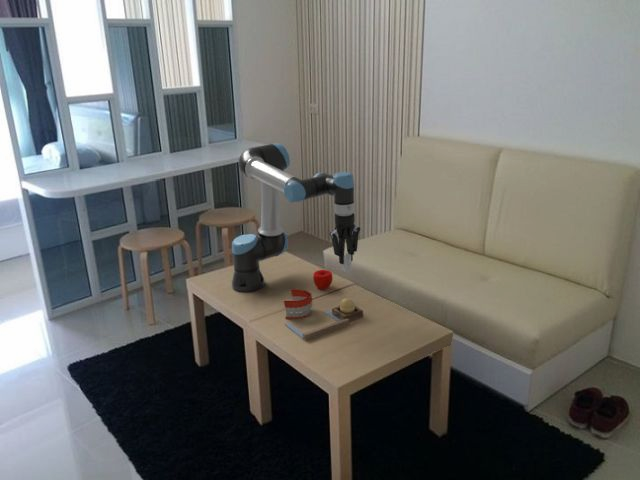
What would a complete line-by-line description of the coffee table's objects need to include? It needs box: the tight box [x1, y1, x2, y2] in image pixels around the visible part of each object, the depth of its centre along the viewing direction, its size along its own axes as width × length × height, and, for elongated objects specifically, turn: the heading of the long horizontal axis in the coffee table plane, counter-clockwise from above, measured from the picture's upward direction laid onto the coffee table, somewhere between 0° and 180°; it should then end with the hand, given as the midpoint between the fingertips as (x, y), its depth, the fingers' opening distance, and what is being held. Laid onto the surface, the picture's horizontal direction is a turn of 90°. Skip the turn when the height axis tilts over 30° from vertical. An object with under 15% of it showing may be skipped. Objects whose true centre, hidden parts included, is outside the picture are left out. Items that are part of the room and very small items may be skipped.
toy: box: [283, 288, 313, 320], centre depth 236 cm, size 12×10×8 cm
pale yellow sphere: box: [339, 297, 356, 315], centre depth 231 cm, size 6×6×6 cm
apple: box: [312, 269, 333, 291], centre depth 258 cm, size 9×9×8 cm
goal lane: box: [284, 309, 350, 342], centre depth 227 cm, size 16×20×2 cm
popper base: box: [331, 305, 364, 323], centre depth 233 cm, size 9×9×3 cm
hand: (346, 270), depth 226 cm, fingers open, 2 cm apart
